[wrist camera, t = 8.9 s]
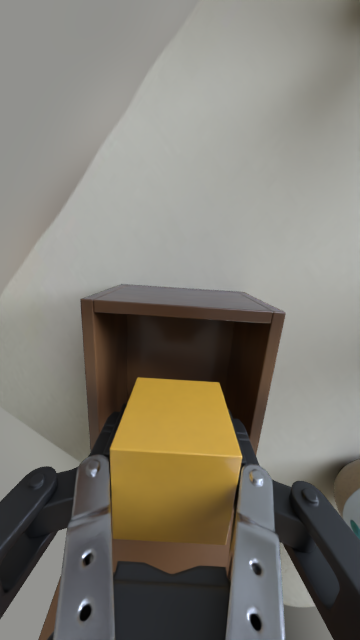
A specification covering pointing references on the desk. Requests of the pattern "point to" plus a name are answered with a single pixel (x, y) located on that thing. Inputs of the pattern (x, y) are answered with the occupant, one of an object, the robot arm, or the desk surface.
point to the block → (174, 464)
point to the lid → (155, 561)
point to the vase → (349, 495)
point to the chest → (179, 347)
